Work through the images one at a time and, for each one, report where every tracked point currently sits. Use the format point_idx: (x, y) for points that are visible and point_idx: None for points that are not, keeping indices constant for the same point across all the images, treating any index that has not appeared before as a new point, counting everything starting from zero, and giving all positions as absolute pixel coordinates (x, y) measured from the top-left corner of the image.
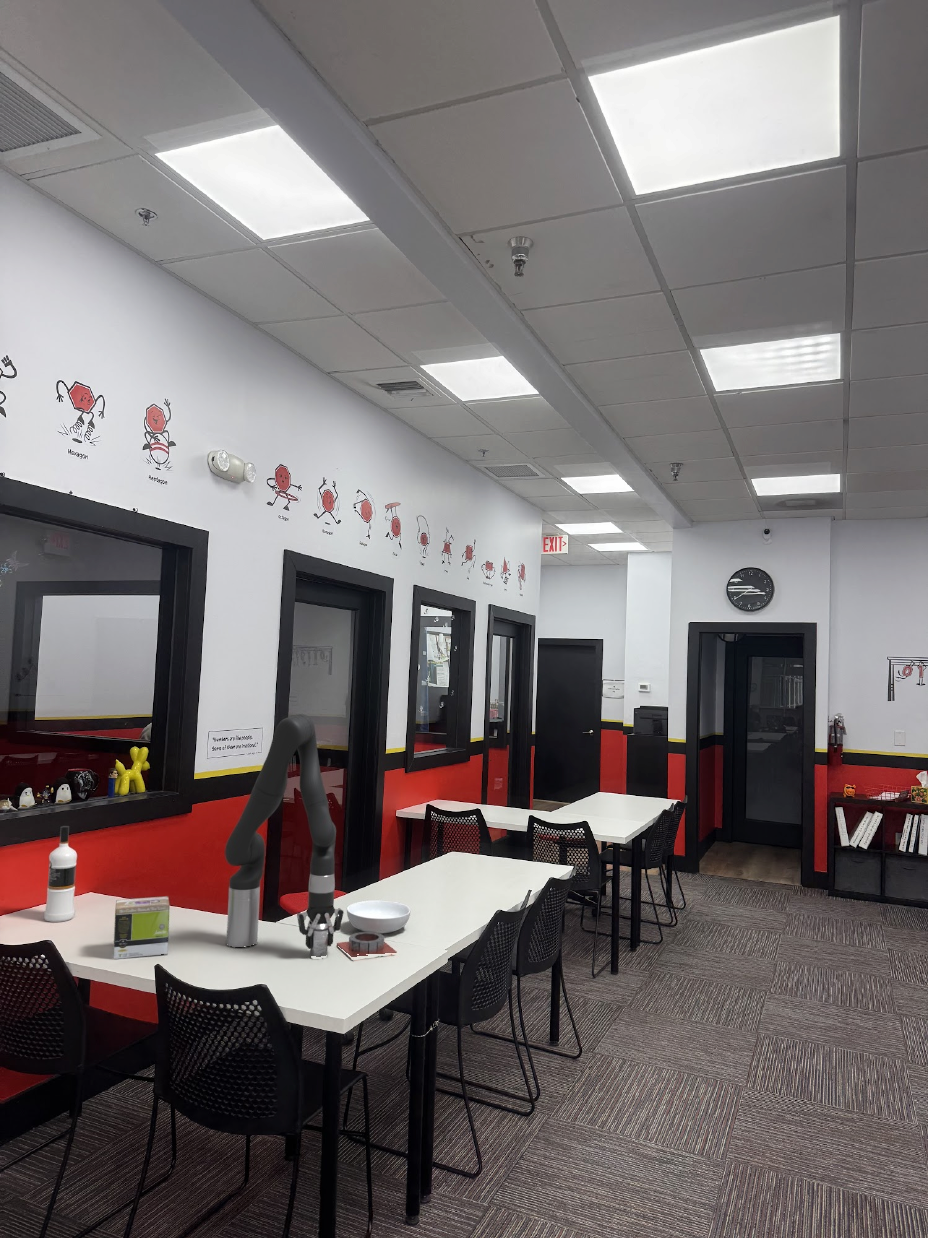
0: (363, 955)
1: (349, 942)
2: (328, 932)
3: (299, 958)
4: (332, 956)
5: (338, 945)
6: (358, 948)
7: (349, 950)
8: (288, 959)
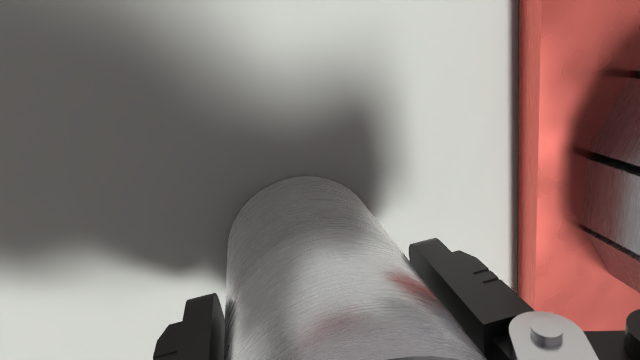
0: None
1: (633, 188)
2: (496, 357)
3: (126, 261)
4: (415, 242)
5: (535, 35)
6: (637, 291)
7: (569, 220)
8: (13, 277)
